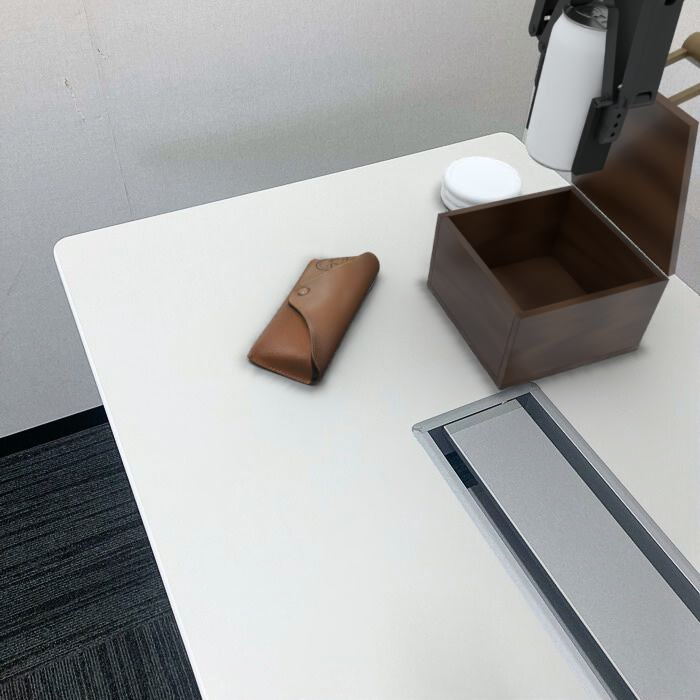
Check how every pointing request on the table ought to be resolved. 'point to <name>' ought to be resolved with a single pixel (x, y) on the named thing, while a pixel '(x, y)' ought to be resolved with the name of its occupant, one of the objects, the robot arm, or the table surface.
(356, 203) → the table surface
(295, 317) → the sunglasses case
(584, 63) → the can
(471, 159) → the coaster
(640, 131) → the lid
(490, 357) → the chest
